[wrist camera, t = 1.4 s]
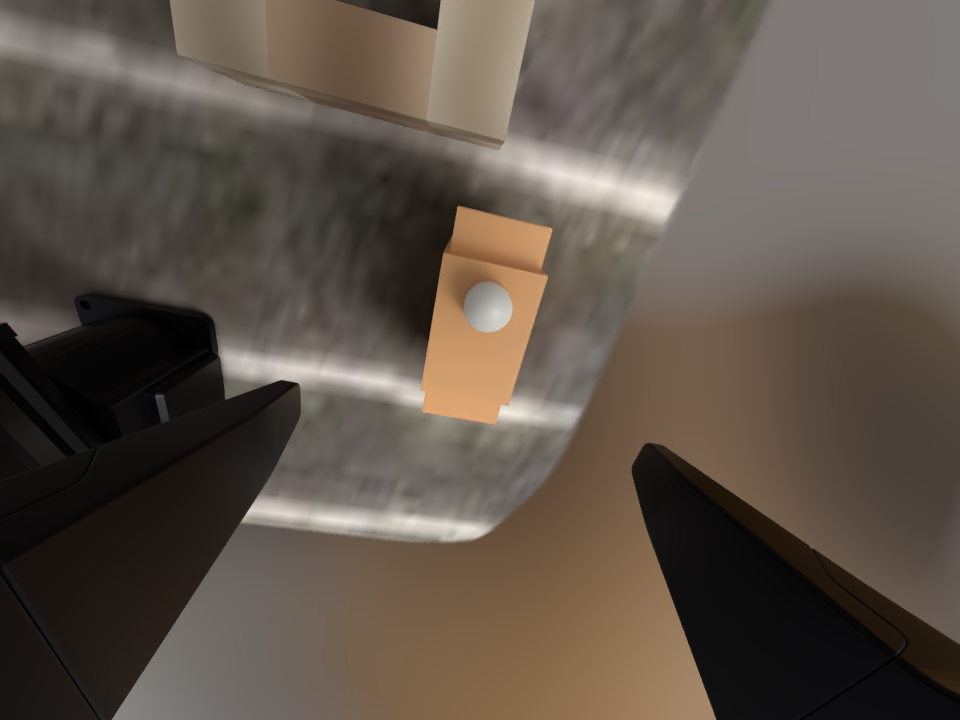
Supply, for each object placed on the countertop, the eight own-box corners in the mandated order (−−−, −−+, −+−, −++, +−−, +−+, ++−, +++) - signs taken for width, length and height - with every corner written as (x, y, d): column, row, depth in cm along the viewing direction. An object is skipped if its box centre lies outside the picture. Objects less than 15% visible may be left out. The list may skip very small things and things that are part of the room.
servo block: (428, 367, 20) (413, 429, 15) (457, 200, 16) (449, 207, 11) (494, 379, 21) (500, 444, 16) (538, 220, 17) (566, 234, 11)
